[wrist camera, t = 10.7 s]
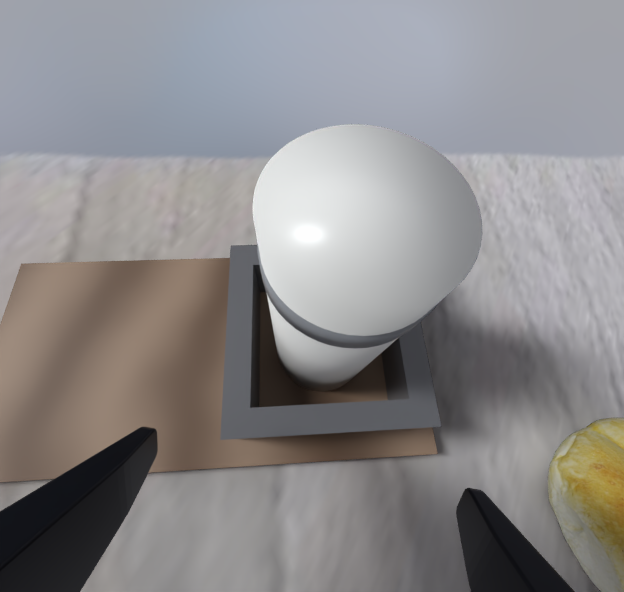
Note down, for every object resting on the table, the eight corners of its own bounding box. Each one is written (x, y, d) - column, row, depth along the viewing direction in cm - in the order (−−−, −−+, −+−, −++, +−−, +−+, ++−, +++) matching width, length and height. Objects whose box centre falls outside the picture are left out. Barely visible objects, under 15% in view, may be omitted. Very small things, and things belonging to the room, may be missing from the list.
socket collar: (388, 271, 21) (404, 241, 17) (414, 427, 17) (441, 426, 14) (241, 275, 20) (230, 245, 17) (235, 438, 16) (220, 439, 13)
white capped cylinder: (382, 354, 18) (532, 227, 7) (313, 412, 17) (358, 372, 5) (326, 290, 20) (375, 96, 8) (258, 338, 18) (204, 183, 7)
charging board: (396, 259, 22) (399, 253, 21) (431, 452, 17) (437, 453, 16) (31, 269, 21) (21, 263, 20) (-40, 483, 16) (-56, 486, 15)
